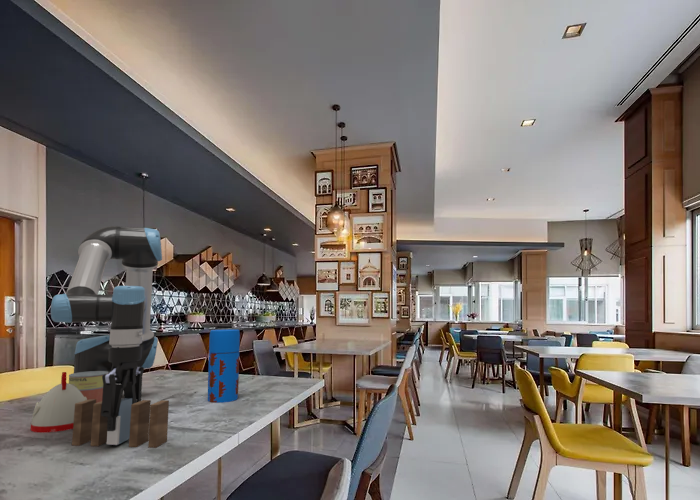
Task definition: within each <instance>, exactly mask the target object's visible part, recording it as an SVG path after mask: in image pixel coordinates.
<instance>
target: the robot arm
mask: <svg viewBox="0 0 700 500" xmlns="http://www.w3.org/2000/svg"><path fill="white" fill-rule="evenodd" d="M77 252H78V257H79V258H78V261H77V263H76V266H75V268H74V271H73V273H72V276H71V279H70V281H69V284H68V288H67V290H66V291H65V293H63V294H56V295H54V296H53V297H52V300H51V304H50V316H51V320H52V321H53V322H55V323H68V324H72V323H74V324H75V323H94V322H95V323H104V322H105V323H106V322H107V323H110V322H111V323H110V329H109V331H110V333H109V334H108V335H99V336H93V337H92V336H91V337H89V338H88V337H87V338H82V339H79V340H78V341H77V342H76V344H75V351H74V362H73V363H74V365H73V373H79V372H87V371H108V372H109V373H108V374H104V375H103V376H102V379H103V396H102V409H101V416H103V417H107V418H108V422H107V442H106V445H111V446H112V445H113V446H118V445H120V444H119V434H120V418H121V416H118V414H119V409H120V404H121V399H124V398H132V404H134V403H137V402H139V401H142V388H143V374H144V370H146V369H147V370H148V369H150V368H152V367H153V365H154V363H155V359H156V354H157V348H158V342H159V341H158V337H156V336H155V333H154V332H153V330H151V311H152V310H151V309H152V295H153V294H152V292H153V290H152V289H153V275H154V273H153V272H154V269H155V268H157V267H158V262H160V261H161V262H162V260H163V254H162V241H161V233H160V231H159V230H158V229H155V228H149V227H138V226H137V227H135V226H118V225H109V226H105V227H100V228H99V229H97V230H95V231H93V232H91V233H89V234H88V235H87V236H86V237H85V238H84V239H83V240H82V241H81V242H80V245H79V247H78V250H77ZM110 260H121V266H122V267H123V268H125V270H126V271H125V272H126V274H125V276H126V277H125V285H116V286H115V287H114V288H113V292H112V294H103V293H102V294H99V291H100V287H101V284H102V279H103V275H104V272H105V268H106V264H107V263H108V262H109V261H110ZM123 396H124V397H123ZM117 444H118V445H117Z"/></svg>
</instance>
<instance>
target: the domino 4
mask: <svg viewBox="0 0 700 500" xmlns="http://www.w3.org/2000/svg"><path fill="white" fill-rule="evenodd" d="M151 401H152V400H150V399H141V401H139V402H137V403H134V404H132V405H131V419H130V436H129V439H128V448H138V447H140V446H142V445H144V444H145V443H147V442H149V423H150V405H151Z"/></svg>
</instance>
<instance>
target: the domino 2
mask: <svg viewBox="0 0 700 500" xmlns="http://www.w3.org/2000/svg"><path fill="white" fill-rule="evenodd" d="M101 409H102V401H101V402H98V403H95V404H94V405H93V419H92V433H91V441H90V447H100V446H102V445H104V444H107V422H108V418H107V417H103V416H101Z"/></svg>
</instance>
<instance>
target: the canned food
mask: <svg viewBox="0 0 700 500" xmlns="http://www.w3.org/2000/svg"><path fill="white" fill-rule="evenodd" d="M108 373H109V372H108V371H87V372H79V373H74V372H73V373H70V374H69V375H68V384H71V385H73V386H75V387H76V388H77V389H78V390H79V391H80V392H81V393H82V394H83V396H84V397H86V398H87V400H88V399H96V403H98V402H101V401H102V396H103V379H102V376H103V375H104V374H108Z"/></svg>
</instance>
